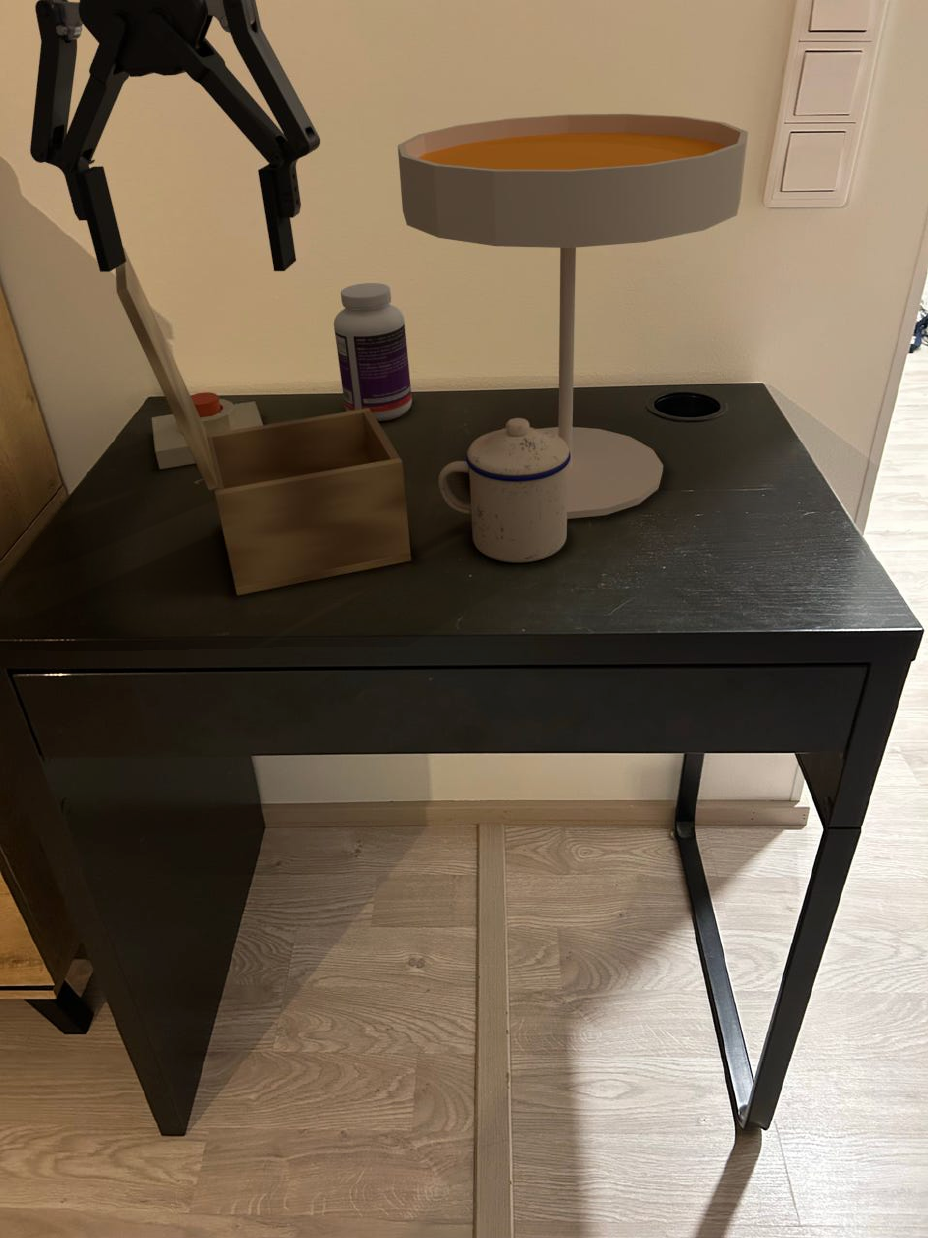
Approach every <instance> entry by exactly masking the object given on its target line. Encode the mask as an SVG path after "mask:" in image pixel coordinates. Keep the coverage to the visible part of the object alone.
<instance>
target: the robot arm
mask: <svg viewBox="0 0 928 1238" xmlns="http://www.w3.org/2000/svg"><path fill="white" fill-rule="evenodd" d="M34 9H35V10H34V11H35V15H36V21H37V27H38V30H39V36H40V37H39V38H40V49H39V50H40V51H39V58H38V59H39V60H38V69H37V78H36V89H35V97H34V98H35V99H34V107H33V118H32V127H31V137H30V146H29V154H30V157H31V158H32V159H33V160H34V161H35V162H36V163H40V164H43V163H46V164H48V165H51V166H54V167H56V168H57V169H59V170H60V171H61V172H62V174H63V176H64V179H65V183H66V187H67V190H68V193H69V194H68V195H69V198H70V202H71V204H72V208H73V213H74V214H75V215H74V216H76V218H77V220H78V221H79V222H80V221H86V223H87V227H88V232H89V234H90V238H91V242H92V246H93V250H94V253H95V258H96V262H97V266H98V269H99V272H100V273H111V272H112V271H113V270H116V268H117V267H118V266H120V265H122V264H123V263H125V262H127V261H126V257H125V253H124V249H125V248H124V246H123V245H124V244H123V242H122V241H123V240H122V236H121V233H120V229H119V224H118V221H117V216H116V213H115V209H114V204H113V200H112V196H111V192H110V187H109V184H108V180H107V179H108V178H107V175H106V171H105V168H104V165H101V166H99V165H98V166H91V167H90V165H92V164H94V163H95V162H96V159H93V156H94V154H95V152H96V150H97V148H98V145H99V143H100V140H101V138H102V135H103V133H104V131H105V128H106V126H107V124H108V122H109V119H110V117H111V114H112V112H113V109H114V106H115V105H116V102H117V100H118V97H119V95H120V93H121V90H122V88H123V86H124V83H126V81H127V80H128V79H129V77H130V78H139V77H145V76H148V75H153V74H157V75H160V76H163V77H164V76H165V77H167V76H178V75H181V74H184V73H186V74H187V76H189V77H190V79H192V80H193V81H194V82H195V83H197V84H199V85H200V86H201V87H202V88H203V89H204V91H206V93H207V94H208V95H209V96H210V97H211V98H212V100H213V101H214V102H215V103H216V104H217V105H218V107H219V108H220V109H221V110H222V111H223V112H224V113H225V115H226V116H227V117H228V118H229V119H230V120H231V121H232V123H233V124H234V125H235V126H236V127H237V128H238V130H239V131H240V132H241V133H242V134H243V135H244V136H245V137H246V139H247V140H248V141H249V143H251V144H252V145H253V147H254V148H255V149H256V150H257V151H258V153H259V154H261V156H262V157H263V158H264V159H265V161H266V162H267V163H268V164H266V165H265V166H263V167H261V168H259V169H257V171H258V172H257V173H258V179H259V184H260V186H259V187H260V192H261V199H262V204H263V210H264V216H265V222H266V223H265V224H266V230H267V235H268V242H269V248H270V255H271V260H272V261H271V262H272V267H273V272H285V271H287V270H288V269H289V268H290V267H291V266H292V265H293V264H294V263H295V262H297V257H296V250H295V249H296V248H295V243H294V242H295V241H294V235H293V230H292V229H293V228H292V222H291V219H293V218H295V217H296V216H298V215H299V214H300V212H301V208H302V203H301V196H300V187H299V179H298V173H297V162H298V161H299V159H301V158H303V157H306V156H308V155H309V154H311V153H313V152H314V151H316V150H317V149H319V147H320V145H321V138H320V135H319V134H318V131H317V129H316V127H315V126H314V124H313V122H312V120H311V119H310V116H309V115H308V113H307V111H306V109H305V107H304V105H303V103H302V102H301V99H300V98H299V96H298V94H297V91H296V90H295V88H294V86H293V85H292V83H291V80H290V79H289V76H288V75H287V73H286V71H285V70H284V68H283V66H282V64H281V63H280V60H279V58H278V57H277V55H276V52H275V51H274V49H273V47H272V45H271V43H270V42H269V40H268V38H267V36H266V34H265V32H264V30H263V28H262V24H261V20H260V15H259V11H258V6H257V1H256V0H79V1H78V2H77V1H69V0H37V1H36V3H35V6H34ZM214 18H215V19H216V20H217V21H218V23H219V25H220V27H221V29H222V30H224V32H226V33H227V34H230V36H231V39H232V42H233V44H234V45H235V48H236V49H237V52H238V53H239V56H240V57H241V59H242V61H243V63H244V65H245V66H246V68H247V70H248V71H249V74H250V75H251V77H252V79H253V81H254V82H255V84H256V87H257V89H258V90H259V92H260V94H261V96H262V97H263V99H264V100H265V102H266V104H267V106H268V108H269V110H270V111H271V114H272V115H273V117H274V119H275V121H276V122H277V124H278V125H277V124H276V123H275V122H274V121H273V120H272V118H271V117H270V115H268V113H267V112H266V111H265V110H264V109H263V108H262V107H261V105H260V104H259V103H258V102H257V101H256V100H255V98H254V97H253V96H252V94H250V92H249V91H248V90H247V89H246V88H245V87H244V85H243V84H242V83H241V82H240V81H239V80H238V78H237V77H236V76H235V75H234V74H233V73H232V71H231V70H230V69H229V68H228V67H227V65H226V61H225V60H224V58H223V56H222V55H221V54H220V53H219V52H218V51H217V50H216V48H215V47H214V46H213V45H212V43H210V41H209V40H208V38H206V36H207V35H208V31H209V29H210V27H211V24H212V22H213V19H214ZM83 26H84V28H85V29H86V30H87V31H88V32H89V33H90V34H91V35H92V37H93V38H94V40H96V42H97V43H98V46H97V48H96V50H95V53H94V56H93V58H92V61H91V64H90V66H89V69H88V73H89V77H88V80H87V82H86V85H85V87H84V89H83V92H82V95H81V97H80V100H79V101H78V105H77V107H76V110H75V112H74V115H73V118H72V120H71V122H70V124H69V121H70V120H69V119H70V111H71V103H72V96H73V87H74V79H75V72H76V63H77V55H78V39H79V38H81V36H82V32H83ZM68 126H69V127H68ZM278 126H279V127H278ZM123 248H124V249H123Z"/></svg>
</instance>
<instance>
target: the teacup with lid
mask: <svg viewBox="0 0 928 1238" xmlns="http://www.w3.org/2000/svg"><path fill="white" fill-rule="evenodd" d="M538 429H539V428H534V427H531V426H530V422H529V421H528V420H527V419H525V418H522V417H514V418H510V419H509V420H508V421H507V422H506V423H505V428H502V429H498V430H493V431H491V432H487V433H486V434H483V435H481V436H480V437H478V438H476V439H475V440H474V441H473V442H472V443H471V444H470V445H469V447H468V449H467V453H466V455H465V460H463V461H462V460H458V461H457V460H456V461H452V462H449V463H448V464H446V465H445V466H444V467H443V468H442V469H441V471H440V473H439V475H438V479H437V481H438V482H437V483H438V484H437V485H438V489H439V493H440V495H441V497H442V499H443V500H444V502H445V503H446V504H447V505H448V506H449V507H450V508H451V509H453V510H454V511H456V512H458V513H460V514H463V515H469V516H471V530H472V533H471V534H472V542H473V543H474V546H475V548H476V550H478V551H479V552H480V553H481V554H483V555H484V556H486V557H488V558H491V559H494V560H495V561H496V560H497V561H500V562H507V563H529V562H530V563H531V562H536V561H539V560H543V559H546V558H548V557H552V556H553V555H555V554H556V553H557V552H559V551H560V550H561V549H562V548H563V546H564V545H565V543H566V542H567V541H566V540H567V538H568V537H567V536H568V535H567V533H568V532H567V531H568V519H567V480H568V463H569V461H570V458H571V454H570V451H569V448H568V446H567V444H566V443H565V441H564V440H563V439H561V438H560V437H559V436H557V435H555V434H553V433H550V432H547V431H543V430H538ZM452 473H465V474H466V473H467V474H469V473H470V476H469V490H470V491H469V492H470V503H468V502H464V501H462V500H460V499H459V498H458V497H456V496H455V494H454V493H453V492H452V489H451V488H450V485H449V480H448V479H449V475H450V474H452Z"/></svg>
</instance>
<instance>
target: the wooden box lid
mask: <svg viewBox="0 0 928 1238" xmlns="http://www.w3.org/2000/svg"><path fill="white" fill-rule="evenodd" d="M123 249H124V253H125V257H126V261H127V262H125V263H123V264H122V265H120V266H118V267H117V268H115V285H116V286H115V287H116V294H117V296H118V298H119V300H120V303H121V305H122V307H123V309H124V312H125V314H126V316H127V318H128V320H129V322H130V324H131V326H132V329H133V331H134V333H135V335H136V337H137V340H138V342H139V344H140V346H141V348H142V350H143V352H144V354H145V357H146V359H147V361H148V363H149V365H150V367H151V369H152V371H153V374H154V376H155V378H156V380H157V382H158V385H159V387H160V389H161V391H162V394H163V395H164V397H165V399H166V401H167V405H168V406H169V408H170V410H171V414H173V415H174V417H175V419H176V421H177V423H178V425H179V428H180V430H181V432H182V434H183V436H184V438H185V440H186V443H187V445H188V447H189V449H190V451H191V453H192V456H193V458H194V460H195V462H196V463H195V464H196V467H197V468H198V471H199V473H200V475H201V477H202V479H203V481H204V484H205V486H206V488H207V490H208V491H212V490H214V489H215V488H218V484H217V480H216V475H215V471H214V467H213V462H212V458H211V453H210V449H209V444H208V440H207V436H206V431H205V427H204V425H203V423H202V421H201V419H200V416H199V414H198V412H197V410H196V407H195V405H194V403H193V401H192V398H191V394H190V392H189V390H188V388H187V385H186V383H185V381H184V379H183V376H182V373H181V372H180V369H179V367H178V365H177V362H176V360H175V359H174V356H173V354H172V352H171V349H170V347H169V344H168V342H167V340H166V338H165V336H164V334H163V331H162V329H161V327H160V325H159V322H158V320H157V318H156V316H155V313H154V312H153V309H152V306H151V305H150V302H149V300H148V298H147V296H146V294H145V290H144V289H143V287H142V284H141V282H140V280H139V277H138V276H137V273H136V271H135V269H134V267H133V265H132V262H131V260H130V257H129V255H128V252H127V251H126V248H125V247H123Z"/></svg>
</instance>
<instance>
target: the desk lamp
mask: <svg viewBox="0 0 928 1238" xmlns="http://www.w3.org/2000/svg"><path fill="white" fill-rule="evenodd" d="M748 136H749V131H747V130H744V129H741V128H739V127H737V126H734V125H732V124H730V123H726V122H724V121H716V120H710V119H702V118H696V117H689V116H684V115H683V116H681V115H680V116H679V115H663V114H662V115H661V114H642V113H641V114H640V113H584V114H583V113H582V114H581V113H580V114H579V113H578V114H577V113H576V114H575V113H574V114H571V113H570V114H556V115H554V114H553V115H545V116H544V115H542V116H539V115H538V116H527V117H526V116H525V117H512V118H502V119H495V120H488V121H487V120H486V121H481V122H480V121H479V122H473V123H466V124H457V125H454V126H450V127H444V128H441V129H436V130H432V131H428V132H424V133H423V132H422V133H419V134H417V135H415V136H413V137H411V138H409V139H407V140H405V141H403V142H401V143H399V144H397V153H398V155H397V156H398V167H399V168H398V169H399V180H400V192H401V193H400V195H401V206H402V213H403V217H404V219H405V224H406V226H408V227H410V228H413V229H416V230H418V231H420V232H423V233H425V234H428V235H430V236H433V237H435V238H437V239H443V240H451V241H455V242H456V241H457V242H463V243H470V244H477V245H484V246H491V247H507V248H509V247H510V248H511V247H512V248H548V249H549V248H553V249H554V248H556V249H559V250H560V251H559V327H558V328H559V331H558V332H559V334H558V335H559V336H558V337H559V338H558V339H559V341H558V343H559V344H558V421H557V422H558V426H554V427H544V428H537V429H538V430H543V431H547V432H550V433H553V434H555V435H557V436H559V437H560V438H561V439H563V440H564V441H565V443H566V444H567V446H568V448H569V451H570V454H571V458H570V461H569V463H568V480H567V520H570V519H571V520H572V519H580V518H590V517H601V516H608V515H610V514H614V513H617V512H620V511H622V510H626V509H629V508H632V507H636V506H638V505H640V504H641V503H642V502H644V501H645V500H646V499H647V498H649V497H650V496H651V495H652V494H654V493H655V492H656V491H657V490H659V487H660V484H661V479H662V477H663V473H664V472H663V471H664V464H663V463H662V461H661V459H660V458H659V457H658V455H657V454H656V452H655V451H654V449H653V448H651V447H649V446H648V445H645V444H644V443H642V442H640V441H638V440H637V439H635V438H633V437H631V436H629V435H625V434H621V433H618V432H617V433H616V432H613V431H609V430H605V429H601V428H593V427H592V428H590V427H580V426H579V427H577V426H573V424H574V423H573V421H574V420H573V418H574V417H573V415H574V370H575V367H574V366H575V320H576V315H575V314H576V269H577V268H576V265H577V263H576V262H577V248H588V247H589V248H590V247H600V246H613V245H625V244H638V243H639V244H641V243H648V242H653V241H659V240H662V239H668V238H673V237H678V236H684V235H688V234H692V233H697V232H698V233H699V232H702V231H707V230H709V229H710V228H713V227H714V226H717V225H719V224H721V223H723V222H726V221H727V220H730V219H732V218H734V217H736V216H738V212H739V208H740V204H741V201H742V200H741V199H742V191H743V189H742V188H743V182H744V181H743V180H744V174H745V173H744V172H745V162H746V153H747V147H748V145H747V144H748ZM468 477H470V473H468Z"/></svg>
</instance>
